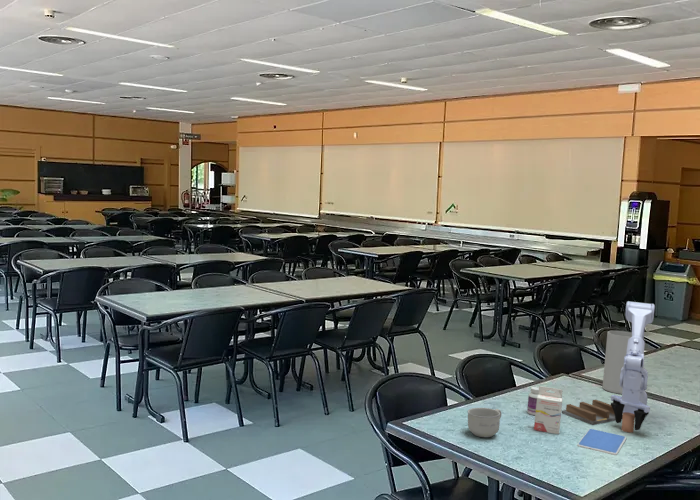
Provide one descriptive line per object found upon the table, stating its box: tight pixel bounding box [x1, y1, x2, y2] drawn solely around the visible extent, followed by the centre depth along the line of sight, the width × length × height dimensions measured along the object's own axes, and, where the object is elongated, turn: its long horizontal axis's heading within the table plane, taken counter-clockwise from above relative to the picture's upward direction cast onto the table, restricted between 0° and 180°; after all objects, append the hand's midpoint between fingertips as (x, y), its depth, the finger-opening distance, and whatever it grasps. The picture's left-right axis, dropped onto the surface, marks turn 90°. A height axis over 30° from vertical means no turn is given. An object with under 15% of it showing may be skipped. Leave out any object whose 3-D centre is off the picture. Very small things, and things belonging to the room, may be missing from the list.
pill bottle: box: [526, 386, 539, 416], centre depth 251 cm, size 5×5×10 cm
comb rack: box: [561, 399, 623, 426], centre depth 253 cm, size 19×14×4 cm
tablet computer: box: [576, 428, 627, 456], centre depth 225 cm, size 19×13×1 cm, turn 149°
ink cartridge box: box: [533, 385, 563, 435], centre depth 233 cm, size 9×5×15 cm, turn 71°
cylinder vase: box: [602, 330, 632, 395], centre depth 289 cm, size 12×12×25 cm
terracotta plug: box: [621, 412, 635, 434], centre depth 238 cm, size 4×4×6 cm
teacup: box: [467, 407, 502, 438], centre depth 226 cm, size 14×11×8 cm
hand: (627, 426), depth 238 cm, fingers open, 7 cm apart
